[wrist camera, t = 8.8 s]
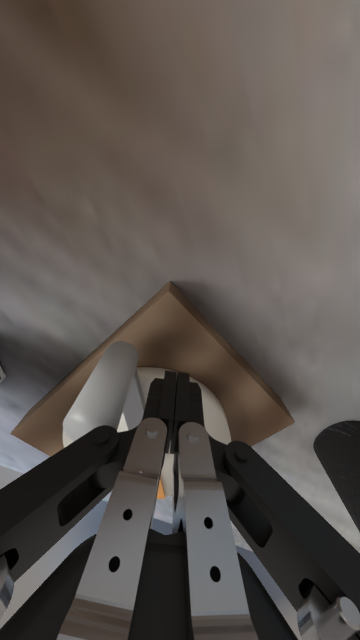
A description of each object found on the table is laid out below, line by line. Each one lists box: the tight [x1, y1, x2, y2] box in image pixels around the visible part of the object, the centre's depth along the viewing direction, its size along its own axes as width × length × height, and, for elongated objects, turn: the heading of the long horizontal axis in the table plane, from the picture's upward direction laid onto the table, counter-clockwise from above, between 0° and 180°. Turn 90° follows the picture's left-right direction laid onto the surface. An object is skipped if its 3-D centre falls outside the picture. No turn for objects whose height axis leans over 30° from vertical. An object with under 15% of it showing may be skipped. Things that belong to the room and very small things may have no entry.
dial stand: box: [10, 282, 294, 456], centre depth 22 cm, size 18×22×5 cm
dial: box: [63, 341, 231, 499], centre depth 17 cm, size 19×15×8 cm
